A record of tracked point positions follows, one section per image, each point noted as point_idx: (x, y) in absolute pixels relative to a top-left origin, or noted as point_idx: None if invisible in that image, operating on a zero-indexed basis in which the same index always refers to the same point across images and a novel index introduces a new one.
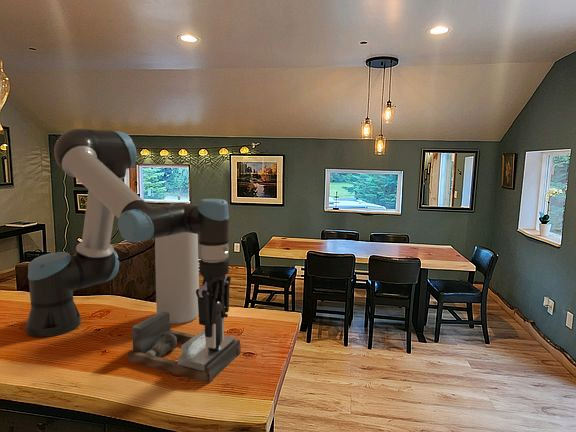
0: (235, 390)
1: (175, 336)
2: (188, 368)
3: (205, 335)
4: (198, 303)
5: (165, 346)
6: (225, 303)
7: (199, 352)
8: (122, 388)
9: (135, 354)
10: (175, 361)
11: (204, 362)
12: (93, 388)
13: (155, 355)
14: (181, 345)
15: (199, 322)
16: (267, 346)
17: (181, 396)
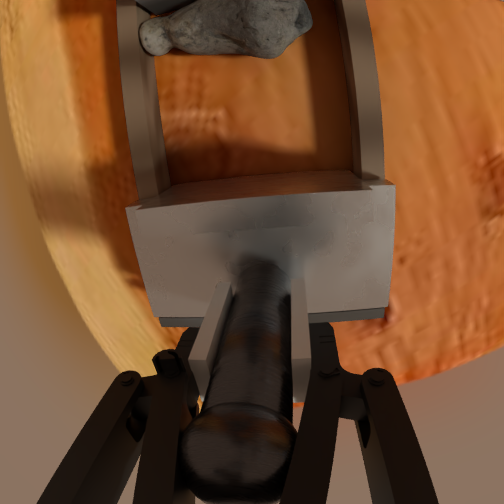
0: None
1: (293, 29)
2: None
3: (183, 335)
4: (53, 480)
5: (213, 45)
6: (366, 454)
7: (203, 254)
8: (39, 116)
9: (117, 11)
10: (152, 169)
11: (162, 311)
12: (17, 65)
13: (169, 48)
14: (135, 210)
15: (114, 383)
16: (434, 332)
17: (98, 271)
